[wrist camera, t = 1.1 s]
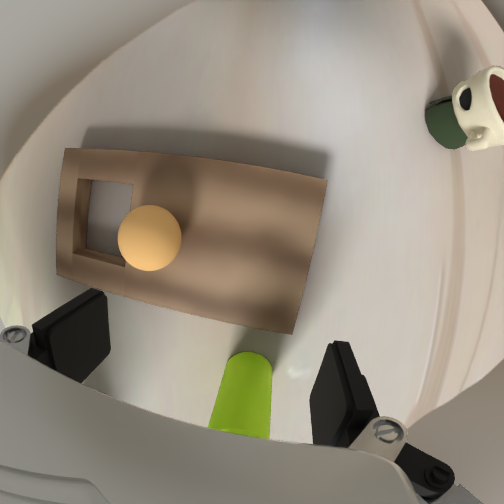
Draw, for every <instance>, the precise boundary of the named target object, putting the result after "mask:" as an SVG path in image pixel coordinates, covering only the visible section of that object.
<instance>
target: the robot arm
mask: <svg viewBox="0 0 504 504" xmlns="http://www.w3.org/2000/svg"><path fill="white" fill-rule="evenodd" d="M32 328H33V333H31V334H30V331H29V330H28V329H27V328H26V327H23V326H10V327H7V328H6V329H4V330H3V331H2V332H1V334H0V504H483V503H482V502H481V501H480V500H478V499H477V498H476V497H475V496H474V495H473V494H471V493H470V492H469V491H468V490H467V489H465V487H463V486H462V485H461V484H459V485H458V486H456V485H455V484H454V480H455V477H454V472H453V470H452V469H451V468H450V466H448V465H447V464H445V463H444V462H442V461H440V460H438V459H436V458H434V457H432V456H430V455H428V454H426V453H424V452H423V451H421V450H419V449H417V448H415V447H413V446H411V445H410V444H408V443H406V441H407V438H408V432H407V429H406V427H405V426H404V425H403V424H402V423H401V422H400V421H398V420H396V419H394V418H391V417H386V416H382V417H380V416H379V413H378V410H377V407H376V405H375V402H374V399H373V396H372V394H371V391H370V388H369V386H368V383H367V380H366V378H365V376H364V375H361V372H360V370H359V367H358V364H357V362H356V359H355V357H354V354H353V352H352V349H351V346H350V344H349V342H344V341H334V342H333V344H331V343H329V344H328V346H327V349H326V352H325V355H324V358H323V361H322V364H321V367H320V370H319V373H318V375H317V378H316V381H315V384H314V386H313V389H312V391H311V394H310V413H311V424H312V436H313V444H306V443H298V442H289V441H280V440H272V439H265V438H258V437H252V436H246V435H241V434H235V433H230V432H225V431H221V430H216V429H212V428H207V427H203V426H199V425H195V424H192V423H188V422H184V421H181V420H177V419H174V418H170V417H167V416H164V415H160V414H157V413H154V412H151V411H148V410H145V409H142V408H140V407H137V406H134V405H131V404H129V403H126V402H123V401H121V400H118V399H116V398H113V397H111V396H108V395H106V394H104V393H101V392H99V391H97V390H94V389H92V388H90V387H88V386H85V385H83V384H81V383H82V382H83V381H84V380H85V379H86V378H87V377H88V376H89V374H90V373H91V372H92V371H93V370H94V369H95V368H96V367H97V366H98V365H99V364H100V363H101V362H102V361H103V360H104V359H105V358H106V357H107V356H108V354H109V353H110V349H111V346H110V336H109V323H108V306H107V297H106V296H105V294H104V292H103V291H100V290H96V289H93V288H91V289H89V290H87V291H86V292H84V293H82V294H81V295H79V296H77V297H76V298H74V299H72V300H71V301H69V302H67V303H66V304H64V305H62V306H61V307H59V308H58V309H56V310H54V311H53V312H51V313H50V314H48V315H46V316H45V317H43V318H42V319H40V320H39V321H37V322H35V323H34V324H32Z"/></svg>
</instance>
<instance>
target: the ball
mask: <svg viewBox="0 0 504 504" xmlns="http://www.w3.org/2000/svg"><path fill="white" fill-rule="evenodd" d="M118 245H119V249H120V252H121V254H122V256H123V257H124V259H125V260H126V261H127V262H128V263H129V264H130V265H132V266H133V267H135V268H137V269H140V270H144V271H155V270H159V269H161V268H164V267H165V266H167V265H168V264H170V263H171V262H172V261H173V260H174V258H175V257H176V255H177V254H178V252H179V249H180V246H181V230H180V226H179V224H178V222H177V220H176V219H175V217H174V216H173V215H172V214H171V213H170V212H169V211H167V210H166V209H164V208H162V207H159V206H155V205H145V206H141V207H138V208H136V209H134V210H132V211H131V212H130V213H128V215H127V216H126V217H125V218H124V219H123V221H122V223H121V225H120V227H119V231H118Z"/></svg>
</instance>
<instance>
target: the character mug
mask: <svg viewBox="0 0 504 504" xmlns="http://www.w3.org/2000/svg"><path fill="white" fill-rule="evenodd" d="M438 101H441V102H439V103H437V104H436V105H435V106H434V107H431V108H428V109H427V110H426V124H427V127H428V130H429V133H430V134H431V135H432V136H433V137H434V138H435V140H436V141H437V142H438V143H440V144H441V145H442V146H444V147H445V148H448V149H457V148H459V147H462V146H464V145H465V146H466V149H468V150H471V151H474V150H480V149H485V148H487V147H492V146H499V145H504V68H502V67H500V66H491V67H489V68H487V69H485V70H482V71H479V72H478V73H477V74H475V75H474V76H472V77H471V78H469V79H466V80H462V81H461V82H460V83H459V84H457V85H456V87H455V88H454V89H453V92H452V96H448V97H444V98H441V99H438V100H436V101H433V102H430V104H432V103H435V102H438Z"/></svg>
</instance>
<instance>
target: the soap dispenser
mask: <svg viewBox="0 0 504 504" xmlns="http://www.w3.org/2000/svg"><path fill="white" fill-rule="evenodd" d="M271 393H272V366H271V364H270V362H269V361H268V360H267V359H266V358H265V357H263V356H262V355H260V354H257V353H253V352H242V353H238V354H236V355H234V356H232V357H231V358H230V359H229V361H228V362H227V364H226V368H225V371H224V375H223V378H222V381H221V385H220V388H219V392H218V395H217V398H216V402H215V405H214V409H213V412H212V415H211V419H210V422H209V425H208V428H212V429H216V430H221V431H225V432H230V433H235V434H241V435H246V436H252V437H258V438H265V439H269V435H270V416H271Z"/></svg>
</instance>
